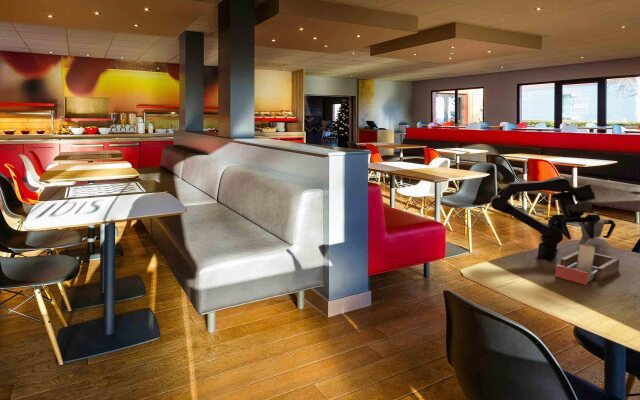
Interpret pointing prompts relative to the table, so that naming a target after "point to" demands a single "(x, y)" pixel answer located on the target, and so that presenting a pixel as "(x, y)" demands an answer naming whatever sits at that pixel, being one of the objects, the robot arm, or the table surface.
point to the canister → (585, 258)
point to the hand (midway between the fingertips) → (581, 238)
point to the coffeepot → (596, 232)
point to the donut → (602, 243)
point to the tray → (575, 273)
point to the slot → (596, 264)
